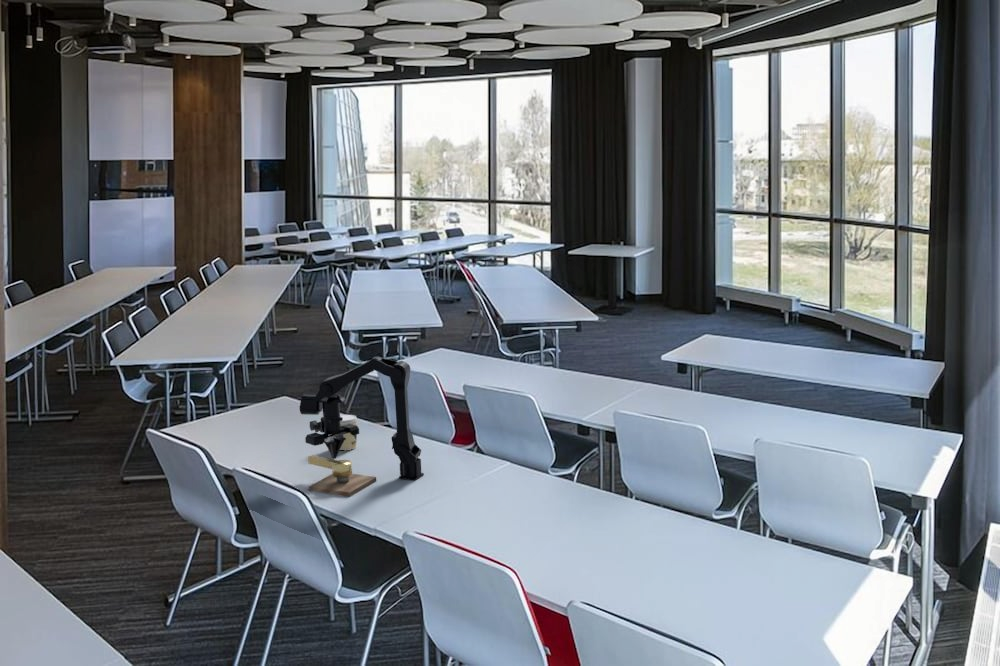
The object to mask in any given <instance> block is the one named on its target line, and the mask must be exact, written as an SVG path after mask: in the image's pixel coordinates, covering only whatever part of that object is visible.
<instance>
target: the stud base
mask: <svg viewBox="0 0 1000 666" xmlns="http://www.w3.org/2000/svg"><path fill="white" fill-rule="evenodd" d="M375 482H377V477H376V476H374V475H365V474H357V473H352V475H351V476H348V477H343V478H337V477H334V476H333V473H332V474H329V475H327V476H326V477H324V478H322V479H321V480H318V481H316V482H315V483H313V484H310V485H308V491H309V492H313V491H315V493H321V494H329V495H335V496H343V497H347V498H348V497H349V498H350V497H352V496H354V495H355V494H357V493H358V492H360V491H362V490H364V489H366V488H367V487H369V486H370V485H373V484H374V483H375Z"/></svg>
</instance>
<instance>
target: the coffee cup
mask: <svg viewBox="0 0 1000 666" xmlns="http://www.w3.org/2000/svg"><path fill="white" fill-rule="evenodd" d="M340 417H342V419H343V420H342V421H340V423H341V426H343V425H347V424H352V425H356V426H358V423H357V422H358V418H357V416H356V415H354V414H340ZM357 435H358V434H357ZM357 435H351V434H350V433H346V434H343V436H344V438H346V440H344V442H343V444H342V446H341V448H340V450H350V449H354V448H356V449H357V444H358V443H357V441H358V440H357V437H358V436H357ZM354 450H355V449H354Z"/></svg>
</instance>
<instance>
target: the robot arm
mask: <svg viewBox="0 0 1000 666" xmlns="http://www.w3.org/2000/svg"><path fill="white" fill-rule="evenodd" d="M372 372H378V373H379V374H382V375H384V376H386V377H388V378H389V379H390V383H391V385H392V388H393V390H394V403H395V404H394V405H395V419H396V420H395V421H396V432H395V433H394V434H393V435H392V436H391V443H392V447H391V449H392V450H393V452H394V454H395V455H396V456H397V457H398V459H399V461H400V463H399V476H398V478H399V479H403V480H408V481H409V480H411V481H416V480H418V479H420V478H421V477H423V476H424V475H425V473H423V472H422V459H421V458H420V455H421V454H422V449H421V448H420V447H418V445H416V443H415V440H414V436H413V433H412V431H411V428H410V413H409V412H410V411H409V397H408V393H409V392H408V386H409V382H410V376H411V366H410V364H409V363H408V362H406V361H403V360H400V361H397V360H393V359H389V358H383V357H381V356H374V357H373V358H371V359H369V360H367V361H366V362H364V363H362V364H360V365H358V366H356V367H354V368H352V369H350V370H349V371H347V372H344V373H341V374H335V375H333V376H330V377H327V378H326V379H324V380H323V381H322V382H321V383H320V384H319V388H318V389H319V390H318V392H317V394H302V395H301V397H300V398H301V399H300V404H299V412H300V414H301V415H308V416H310V415H312V416H313V415H316V416H318V415H319V414H320V412H322V416H321V417H320V421H317V420H316V419H315V420H311V421H309V429H310V431H314V432H313V433H309V434H306V435H305V443H306V444H309V445H311V446H320V445H323V444H325V446H326V447H327V449H328V451H329V454H330V456H331V458H332V460H337V459H336V458H337V457H338V454H339V452H340V451H339V450H340V448H341V446H342V444H343V442H344V440H346V438H344V436H343V434H346V433H350V434H351V435H359V434H360V428H359V426H358V425H357V426H356V425H352V424H347V425H343V426H341V423H340V421H342V420H343V419H342V417H340V415H341V411H340V409H341V408H340V407H341V406H340V404H343V402H345V401H346V398H345V397H344V396H342V395H341V394H338V395H337V396H334V395H336V393H338V392H339V391H340V390H342V389H343V388H344V387H346V386H347V385H348V384H350V383H353V382H354V381H357V380H359V379H360V378H363V377H365V376H367V375H369V374H370V373H372ZM319 432H320V433H319ZM321 433H322V434H321Z"/></svg>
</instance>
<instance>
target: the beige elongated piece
mask: <svg viewBox="0 0 1000 666" xmlns="http://www.w3.org/2000/svg"><path fill="white" fill-rule="evenodd" d="M307 458H308V464H309V465H313V466H317V467H322V468H325V469H330V470H332V474H333V476H334V477H337V478H343V477H348V476H351V475H352V474H353V467H352V461H351V460H350V459H340V460H339V459H338V460H337V459H333V458H332V459H331V458H328V457H323V456H318V455H315V454H312V455H308V456H307Z"/></svg>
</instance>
